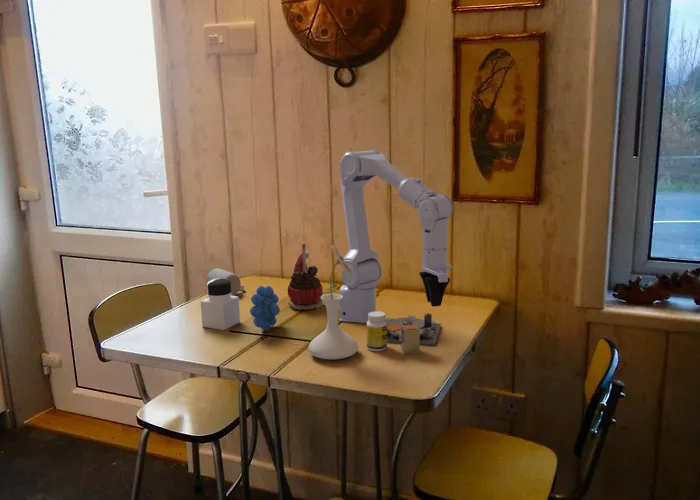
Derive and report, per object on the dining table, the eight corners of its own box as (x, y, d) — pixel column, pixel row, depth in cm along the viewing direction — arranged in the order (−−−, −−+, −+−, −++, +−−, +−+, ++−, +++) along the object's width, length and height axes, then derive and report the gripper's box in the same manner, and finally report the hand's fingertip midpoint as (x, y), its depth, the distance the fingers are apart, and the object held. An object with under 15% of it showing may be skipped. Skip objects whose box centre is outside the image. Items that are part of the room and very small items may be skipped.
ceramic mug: (224, 300, 191) (223, 274, 189) (205, 295, 195) (204, 270, 194) (250, 292, 199) (249, 267, 197) (231, 287, 204) (230, 264, 202)
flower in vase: (353, 365, 142) (352, 254, 137) (303, 362, 144) (299, 253, 139) (363, 343, 155) (361, 241, 149) (316, 341, 157) (313, 240, 151)
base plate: (372, 341, 156) (372, 338, 156) (383, 322, 170) (383, 319, 170) (434, 345, 153) (434, 343, 153) (441, 325, 166) (441, 323, 166)
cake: (308, 314, 177) (306, 249, 173) (281, 309, 182) (278, 246, 178) (329, 303, 186) (328, 242, 182) (303, 298, 191) (301, 238, 187)
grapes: (268, 340, 158) (266, 293, 155) (245, 336, 161) (242, 290, 158) (292, 325, 169) (290, 280, 166) (269, 321, 171) (267, 277, 169)
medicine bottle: (240, 322, 172) (238, 278, 169) (224, 330, 165) (221, 285, 163) (218, 318, 175) (215, 275, 172) (201, 327, 168) (198, 282, 166)
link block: (404, 355, 148) (404, 329, 146) (401, 349, 151) (401, 324, 149) (419, 354, 148) (419, 329, 146) (416, 349, 151) (416, 323, 150)
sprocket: (374, 338, 156) (374, 321, 155) (386, 319, 170) (386, 302, 169) (431, 342, 153) (431, 325, 152) (438, 322, 166) (438, 306, 165)
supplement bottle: (385, 352, 149) (385, 317, 148) (365, 351, 150) (364, 316, 148) (388, 344, 154) (388, 311, 152) (368, 343, 155) (368, 310, 153)
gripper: (461, 253, 144) (460, 312, 147) (442, 240, 158) (441, 293, 161) (430, 255, 143) (430, 314, 146) (414, 241, 157) (413, 295, 160)
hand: (434, 303), depth 154 cm, fingers open, 3 cm apart
